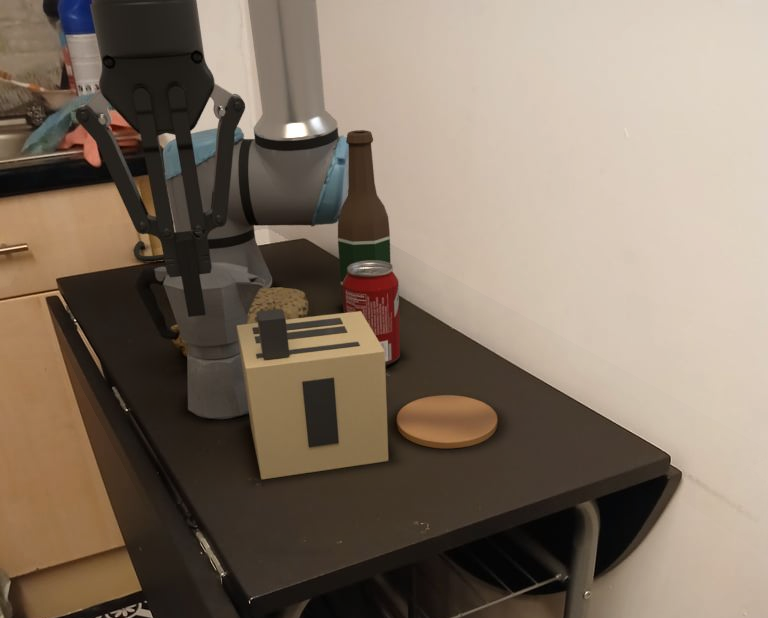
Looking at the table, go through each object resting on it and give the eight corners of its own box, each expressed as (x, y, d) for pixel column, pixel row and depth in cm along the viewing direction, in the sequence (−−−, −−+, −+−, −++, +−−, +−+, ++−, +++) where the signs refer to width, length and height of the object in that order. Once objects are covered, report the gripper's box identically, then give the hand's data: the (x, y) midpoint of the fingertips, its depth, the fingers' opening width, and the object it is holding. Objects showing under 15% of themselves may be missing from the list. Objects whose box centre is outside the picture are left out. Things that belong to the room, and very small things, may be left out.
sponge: (206, 389, 99) (340, 323, 104) (179, 331, 95) (320, 266, 101) (179, 370, 110) (302, 311, 115) (153, 317, 106) (282, 259, 111)
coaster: (386, 408, 90) (386, 402, 90) (478, 395, 92) (478, 389, 92) (411, 455, 81) (410, 448, 81) (511, 440, 83) (512, 433, 83)
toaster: (251, 428, 87) (236, 324, 80) (366, 413, 90) (360, 309, 83) (261, 480, 78) (245, 367, 71) (389, 461, 81) (385, 350, 74)
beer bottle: (332, 316, 115) (319, 136, 101) (353, 298, 121) (344, 125, 107) (381, 322, 112) (375, 138, 99) (401, 303, 118) (397, 127, 105)
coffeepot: (293, 389, 95) (277, 237, 85) (263, 426, 88) (241, 264, 77) (178, 378, 99) (149, 231, 89) (139, 413, 91) (103, 256, 81)
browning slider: (261, 350, 75) (256, 311, 73) (286, 347, 75) (282, 308, 73) (263, 359, 73) (258, 320, 71) (289, 356, 73) (285, 317, 71)
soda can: (394, 372, 98) (392, 277, 91) (342, 370, 99) (335, 275, 93) (404, 351, 104) (402, 259, 97) (354, 348, 105) (349, 257, 98)
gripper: (40, -3, 53) (119, 334, 66) (237, -11, 55) (274, 317, 68) (53, -5, 59) (122, 304, 72) (229, -12, 61) (265, 289, 74)
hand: (196, 310), depth 70 cm, fingers closed
